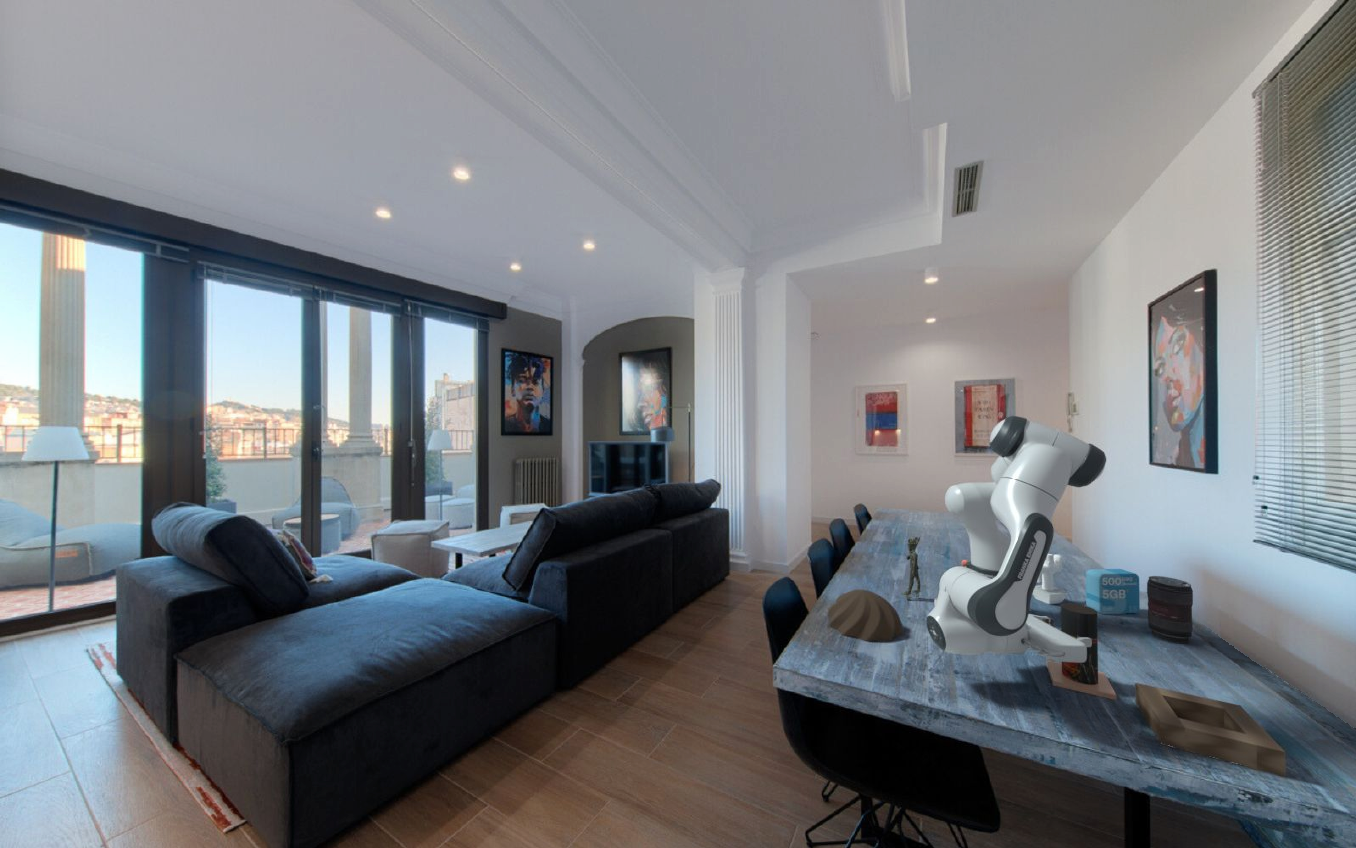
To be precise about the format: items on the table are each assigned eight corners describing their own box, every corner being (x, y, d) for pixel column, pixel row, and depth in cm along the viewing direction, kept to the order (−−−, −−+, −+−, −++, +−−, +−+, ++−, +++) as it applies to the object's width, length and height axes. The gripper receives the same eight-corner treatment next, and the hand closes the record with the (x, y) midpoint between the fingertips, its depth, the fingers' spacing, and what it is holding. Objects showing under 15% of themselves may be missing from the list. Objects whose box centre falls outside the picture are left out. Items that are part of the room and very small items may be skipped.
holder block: (1160, 744, 79) (1160, 721, 79) (1135, 702, 91) (1135, 682, 91) (1285, 777, 71) (1285, 752, 71) (1240, 727, 83) (1240, 705, 83)
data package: (1099, 614, 132) (1099, 574, 132) (1085, 608, 136) (1085, 569, 136) (1140, 614, 132) (1139, 573, 132) (1124, 608, 136) (1124, 568, 136)
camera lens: (1150, 639, 117) (1149, 581, 117) (1145, 628, 123) (1144, 573, 123) (1197, 648, 112) (1196, 588, 112) (1189, 636, 118) (1188, 579, 118)
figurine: (1024, 597, 145) (1024, 551, 145) (1049, 595, 147) (1048, 549, 147) (1046, 606, 138) (1046, 558, 138) (1072, 604, 140) (1071, 556, 140)
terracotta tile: (1053, 685, 97) (1053, 680, 97) (1046, 664, 105) (1046, 660, 105) (1116, 700, 91) (1116, 695, 91) (1103, 676, 100) (1103, 672, 100)
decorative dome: (840, 606, 140) (839, 574, 141) (909, 623, 128) (909, 588, 128) (816, 628, 125) (815, 593, 125) (892, 650, 113) (892, 610, 113)
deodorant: (1105, 686, 95) (1104, 615, 95) (1073, 683, 96) (1072, 613, 96) (1085, 671, 100) (1084, 604, 100) (1055, 668, 102) (1054, 602, 102)
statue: (897, 596, 148) (896, 535, 148) (916, 595, 148) (915, 535, 148) (905, 601, 143) (904, 539, 143) (924, 601, 143) (923, 538, 143)
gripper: (1044, 639, 88) (1115, 639, 88) (975, 599, 108) (1031, 598, 108) (1045, 672, 88) (1115, 671, 88) (975, 625, 108) (1032, 625, 108)
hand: (1068, 630), depth 98 cm, fingers open, 8 cm apart
